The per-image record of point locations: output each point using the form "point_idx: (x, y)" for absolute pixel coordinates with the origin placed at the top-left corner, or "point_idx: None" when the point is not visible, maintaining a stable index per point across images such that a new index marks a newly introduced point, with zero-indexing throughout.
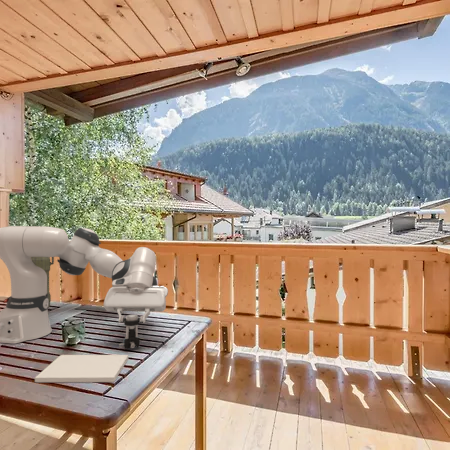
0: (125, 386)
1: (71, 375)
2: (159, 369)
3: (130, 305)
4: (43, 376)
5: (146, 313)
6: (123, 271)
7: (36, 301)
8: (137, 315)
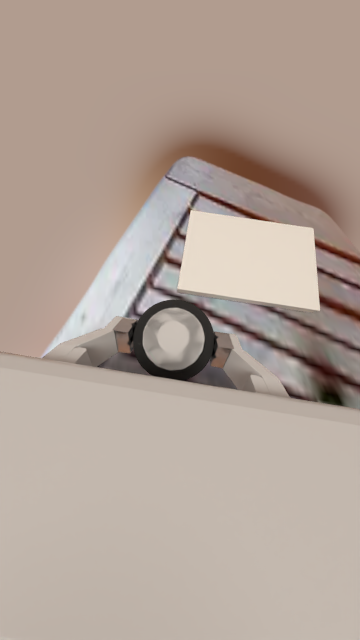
0: (171, 205)
1: (259, 225)
2: (119, 243)
3: (191, 388)
4: (302, 229)
5: (87, 335)
6: None
7: None
8: (144, 343)
